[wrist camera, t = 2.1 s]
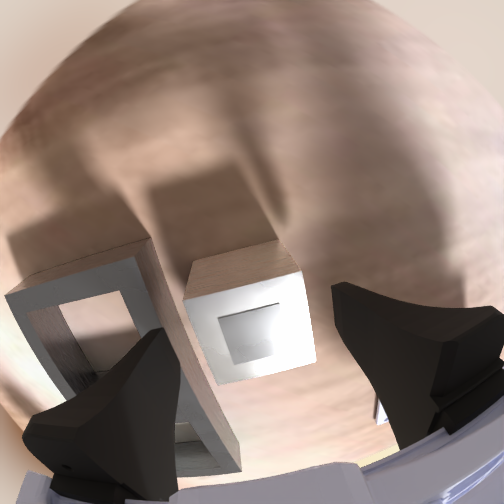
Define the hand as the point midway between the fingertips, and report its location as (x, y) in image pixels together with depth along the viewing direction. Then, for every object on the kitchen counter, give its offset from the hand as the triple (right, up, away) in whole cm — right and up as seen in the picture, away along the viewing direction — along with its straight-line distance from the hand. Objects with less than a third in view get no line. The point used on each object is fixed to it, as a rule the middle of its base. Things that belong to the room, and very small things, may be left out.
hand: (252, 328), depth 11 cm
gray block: (0, +1, +4) cm, 4 cm away
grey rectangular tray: (-7, -5, +5) cm, 11 cm away
